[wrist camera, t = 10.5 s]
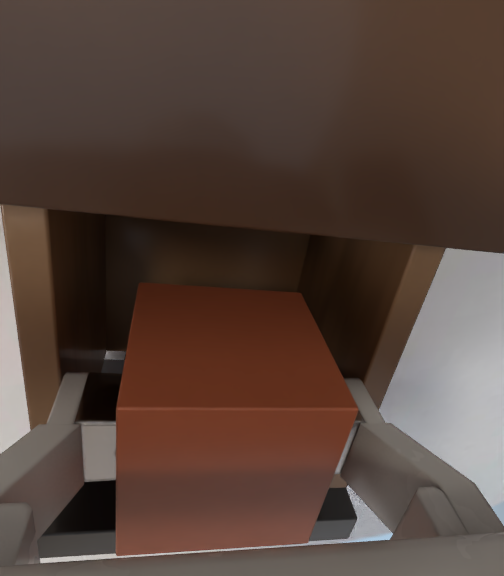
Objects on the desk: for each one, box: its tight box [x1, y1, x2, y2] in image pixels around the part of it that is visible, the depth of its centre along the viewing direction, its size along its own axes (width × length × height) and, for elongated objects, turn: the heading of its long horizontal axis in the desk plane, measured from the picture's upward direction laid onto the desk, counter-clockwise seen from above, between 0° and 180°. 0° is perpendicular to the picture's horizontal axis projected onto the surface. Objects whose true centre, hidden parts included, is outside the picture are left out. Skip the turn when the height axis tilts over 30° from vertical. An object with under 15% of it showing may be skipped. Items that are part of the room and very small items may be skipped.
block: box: [116, 282, 359, 556], centre depth 10 cm, size 4×4×4 cm
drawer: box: [0, 204, 446, 558], centre depth 15 cm, size 17×10×8 cm, turn 171°
